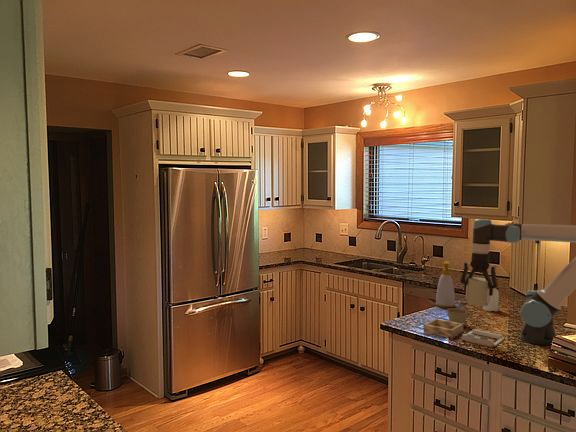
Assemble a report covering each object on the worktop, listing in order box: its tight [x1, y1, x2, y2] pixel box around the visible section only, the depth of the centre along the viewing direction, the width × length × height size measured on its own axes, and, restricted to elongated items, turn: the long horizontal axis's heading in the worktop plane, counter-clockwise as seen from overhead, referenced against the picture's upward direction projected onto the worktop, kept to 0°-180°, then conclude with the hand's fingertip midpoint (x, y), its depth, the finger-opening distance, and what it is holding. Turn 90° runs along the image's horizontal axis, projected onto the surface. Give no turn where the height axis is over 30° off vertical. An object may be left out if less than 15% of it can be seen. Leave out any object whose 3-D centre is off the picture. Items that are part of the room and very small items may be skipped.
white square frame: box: [460, 329, 505, 348], centre depth 221 cm, size 15×15×3 cm
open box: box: [423, 318, 464, 339], centre depth 232 cm, size 14×14×4 cm
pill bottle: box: [482, 288, 500, 312], centre depth 274 cm, size 8×8×15 cm
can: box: [466, 276, 489, 307], centre depth 222 cm, size 9×9×12 cm
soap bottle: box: [435, 260, 456, 309], centre depth 283 cm, size 11×12×26 cm
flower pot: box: [446, 308, 468, 325], centre depth 244 cm, size 10×10×7 cm
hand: (477, 300), depth 222 cm, fingers closed on can, 9 cm apart
